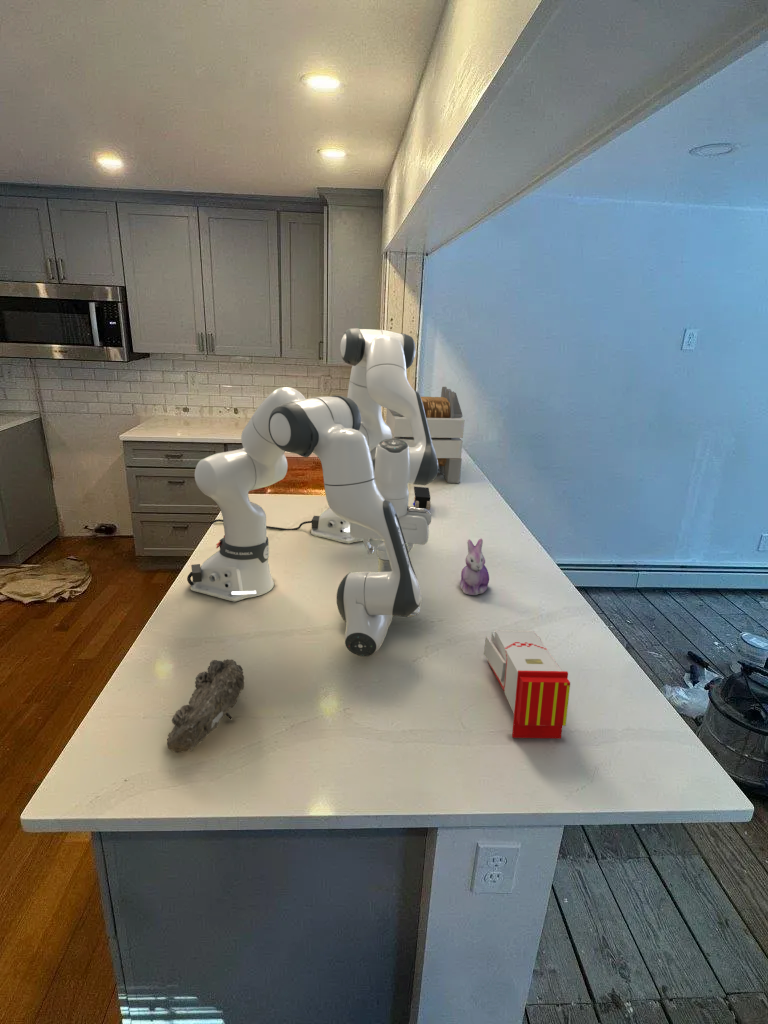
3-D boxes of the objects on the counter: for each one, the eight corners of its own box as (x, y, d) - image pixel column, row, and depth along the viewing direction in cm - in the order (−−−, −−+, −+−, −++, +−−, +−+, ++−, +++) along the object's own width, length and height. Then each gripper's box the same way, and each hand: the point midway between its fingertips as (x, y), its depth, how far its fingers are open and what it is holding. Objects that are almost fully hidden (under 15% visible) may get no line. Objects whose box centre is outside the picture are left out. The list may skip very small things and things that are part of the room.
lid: (382, 561, 143) (383, 553, 142) (372, 552, 148) (373, 544, 147) (403, 558, 145) (404, 550, 145) (393, 549, 150) (393, 541, 150)
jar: (392, 600, 154) (395, 545, 149) (396, 609, 150) (400, 553, 144) (374, 601, 153) (376, 546, 148) (378, 610, 149) (381, 554, 143)
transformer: (382, 463, 289) (386, 382, 275) (445, 464, 293) (451, 384, 279) (390, 482, 257) (394, 392, 243) (460, 483, 261) (468, 394, 247)
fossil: (192, 660, 117) (244, 628, 112) (224, 691, 120) (276, 661, 115) (142, 746, 98) (202, 712, 93) (182, 779, 101) (242, 748, 96)
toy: (532, 614, 131) (579, 678, 101) (527, 667, 134) (572, 745, 104) (479, 613, 130) (512, 677, 101) (476, 667, 133) (506, 744, 104)
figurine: (471, 599, 156) (476, 549, 151) (450, 583, 165) (454, 536, 160) (498, 593, 160) (504, 544, 155) (476, 578, 169) (481, 531, 164)
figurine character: (431, 519, 219) (427, 502, 232) (432, 501, 216) (429, 485, 229) (413, 518, 219) (411, 501, 232) (415, 500, 215) (412, 484, 229)
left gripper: (419, 605, 135) (426, 579, 148) (336, 593, 138) (350, 569, 151) (417, 628, 137) (425, 601, 150) (335, 616, 141) (350, 590, 153)
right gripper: (433, 505, 143) (429, 555, 148) (354, 497, 146) (352, 546, 151) (430, 513, 137) (426, 565, 142) (348, 505, 141) (347, 556, 145)
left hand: (387, 585), depth 151 cm, fingers closed on jar, 5 cm apart
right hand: (388, 555), depth 147 cm, fingers open, 8 cm apart
